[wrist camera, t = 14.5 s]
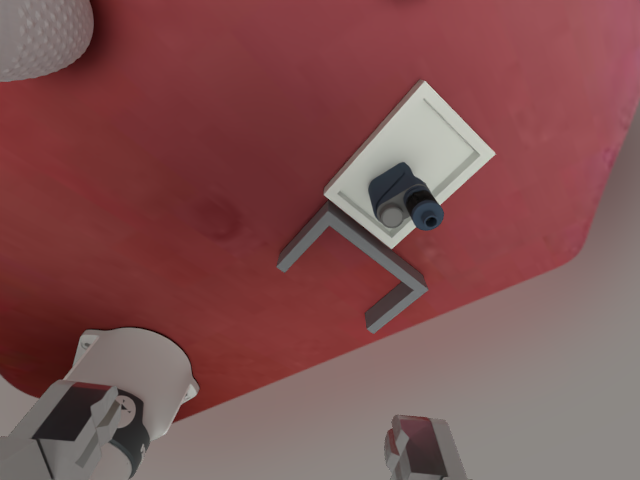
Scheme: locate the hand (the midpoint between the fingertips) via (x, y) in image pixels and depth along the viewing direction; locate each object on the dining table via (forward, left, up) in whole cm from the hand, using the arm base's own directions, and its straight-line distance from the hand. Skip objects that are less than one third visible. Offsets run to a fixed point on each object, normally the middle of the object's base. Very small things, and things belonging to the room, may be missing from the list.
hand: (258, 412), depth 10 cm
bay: (-8, -12, -29) cm, 32 cm away
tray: (+5, -8, -29) cm, 31 cm away
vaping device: (+4, -8, -29) cm, 30 cm away
